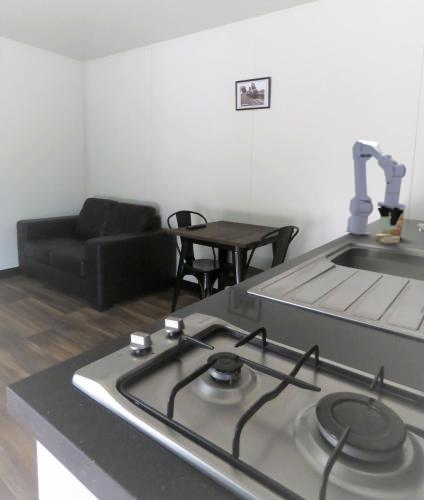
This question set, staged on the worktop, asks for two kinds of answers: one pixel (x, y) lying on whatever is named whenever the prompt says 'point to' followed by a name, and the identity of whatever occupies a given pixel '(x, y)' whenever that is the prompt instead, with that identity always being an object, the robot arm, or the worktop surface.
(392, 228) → the sage cube
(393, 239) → the beech block
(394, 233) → the candy box
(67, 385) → the worktop surface
